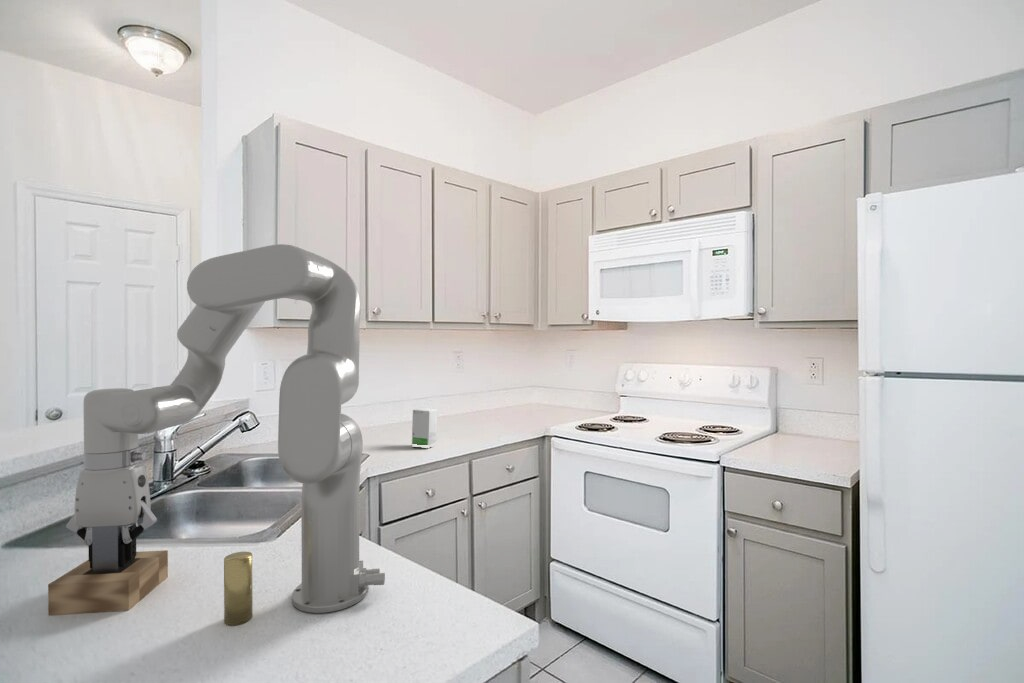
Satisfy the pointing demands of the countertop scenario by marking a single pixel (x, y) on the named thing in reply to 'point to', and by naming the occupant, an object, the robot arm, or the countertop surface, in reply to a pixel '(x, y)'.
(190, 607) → the countertop surface
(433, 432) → the skincare box
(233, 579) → the round bit
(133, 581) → the bore block
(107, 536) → the square bit
